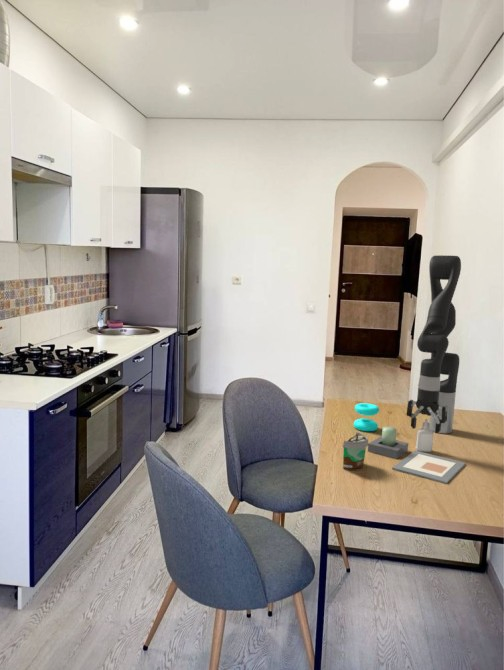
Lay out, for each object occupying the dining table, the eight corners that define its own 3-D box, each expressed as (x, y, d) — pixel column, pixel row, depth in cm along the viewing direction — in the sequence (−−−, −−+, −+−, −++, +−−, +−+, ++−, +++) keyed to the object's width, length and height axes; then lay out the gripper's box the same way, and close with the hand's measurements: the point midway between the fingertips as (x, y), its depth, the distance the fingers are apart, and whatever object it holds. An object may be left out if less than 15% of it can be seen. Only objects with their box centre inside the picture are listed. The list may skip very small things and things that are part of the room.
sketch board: (414, 452, 194) (414, 450, 194) (465, 464, 184) (465, 462, 184) (392, 469, 177) (392, 467, 177) (446, 483, 166) (446, 481, 166)
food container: (359, 474, 171) (361, 445, 170) (341, 470, 174) (343, 441, 173) (371, 463, 182) (373, 435, 180) (354, 459, 185) (356, 431, 183)
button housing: (379, 443, 202) (380, 436, 202) (407, 450, 196) (408, 443, 195) (367, 451, 193) (368, 443, 193) (396, 458, 187) (397, 450, 186)
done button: (384, 441, 197) (385, 425, 197) (397, 444, 195) (398, 428, 194) (379, 444, 193) (380, 428, 193) (392, 447, 191) (393, 431, 190)
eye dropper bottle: (430, 453, 193) (433, 422, 192) (414, 450, 196) (417, 419, 194) (432, 450, 197) (435, 419, 195) (417, 447, 200) (419, 416, 198)
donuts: (384, 407, 217) (364, 409, 213) (382, 431, 218) (362, 433, 214) (369, 401, 226) (350, 403, 222) (368, 424, 227) (348, 426, 223)
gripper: (451, 389, 192) (447, 432, 194) (413, 383, 200) (409, 424, 202) (445, 392, 186) (441, 437, 188) (406, 386, 194) (402, 428, 196)
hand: (425, 430), depth 195 cm, fingers open, 8 cm apart
